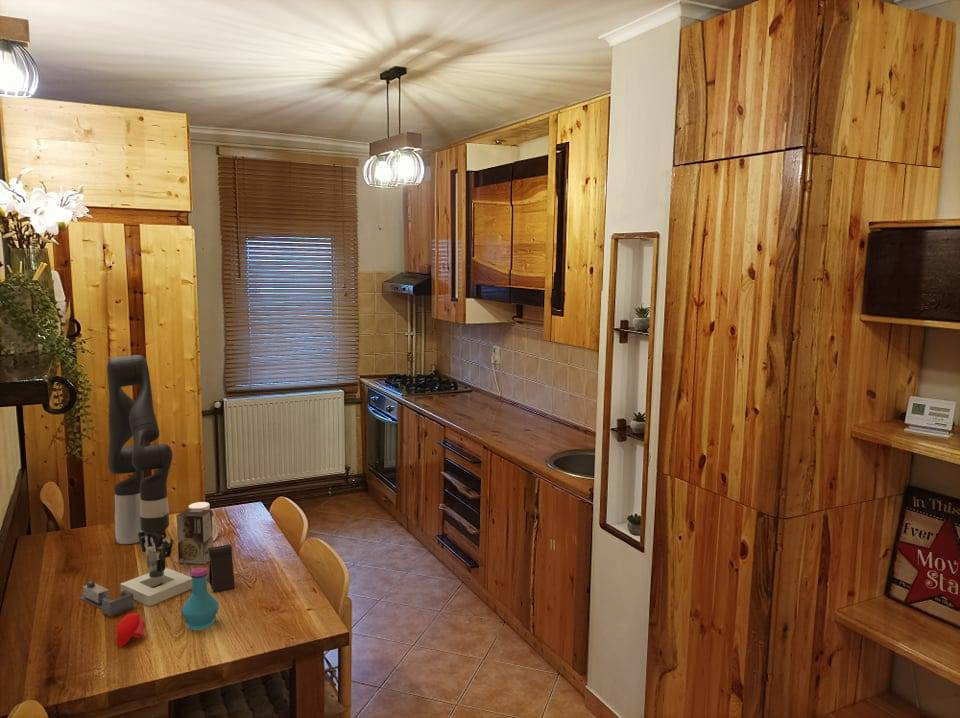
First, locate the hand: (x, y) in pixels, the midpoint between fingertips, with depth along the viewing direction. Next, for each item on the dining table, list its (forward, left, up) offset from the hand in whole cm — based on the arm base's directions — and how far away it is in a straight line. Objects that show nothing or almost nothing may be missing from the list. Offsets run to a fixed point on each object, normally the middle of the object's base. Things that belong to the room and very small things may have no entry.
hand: (156, 568), depth 201 cm
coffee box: (-10, +20, -7) cm, 24 cm away
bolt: (-9, -13, -7) cm, 17 cm away
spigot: (0, 0, -2) cm, 2 cm away
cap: (+19, -20, -7) cm, 28 cm away
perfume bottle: (+27, -5, -7) cm, 28 cm away
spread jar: (-24, +33, -7) cm, 42 cm away
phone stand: (+12, +13, -7) cm, 19 cm away
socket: (0, 0, -7) cm, 7 cm away
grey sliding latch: (-5, -13, -7) cm, 15 cm away
